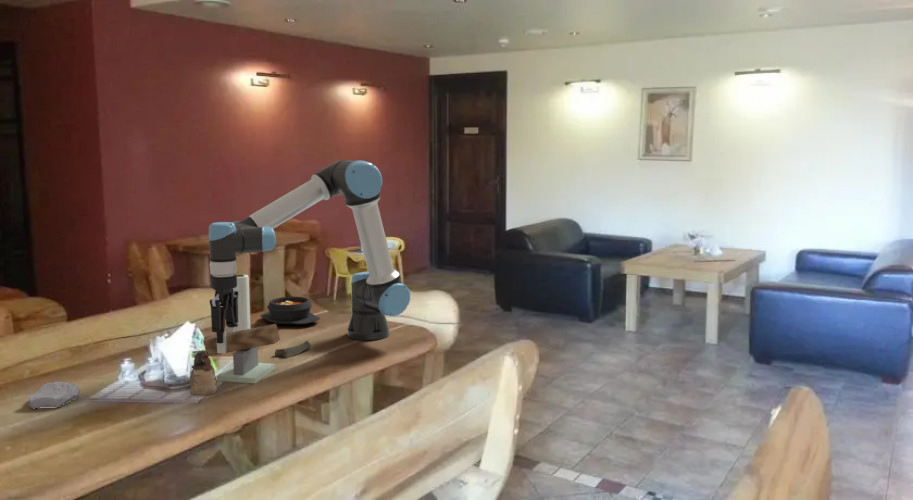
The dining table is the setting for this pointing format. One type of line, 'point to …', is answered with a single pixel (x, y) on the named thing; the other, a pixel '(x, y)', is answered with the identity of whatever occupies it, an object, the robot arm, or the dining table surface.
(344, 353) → the dining table surface
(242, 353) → the stand
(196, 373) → the figurine
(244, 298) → the paper towel roll
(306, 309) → the casserole
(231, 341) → the beam
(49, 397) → the stone block
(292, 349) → the dark grey oblong piece
